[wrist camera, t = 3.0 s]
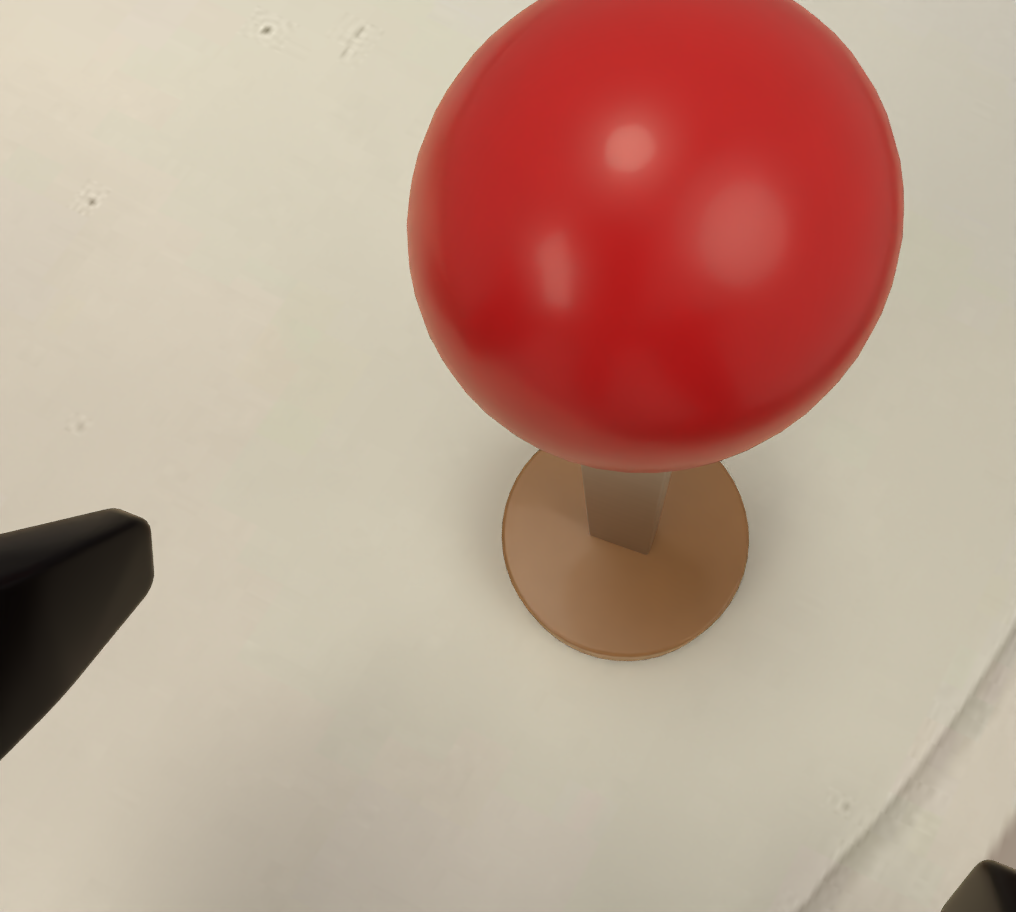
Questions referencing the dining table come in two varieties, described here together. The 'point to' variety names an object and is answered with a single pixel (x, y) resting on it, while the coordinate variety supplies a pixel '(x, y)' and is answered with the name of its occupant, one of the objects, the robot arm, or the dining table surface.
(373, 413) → the dining table surface
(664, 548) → the red knob post
